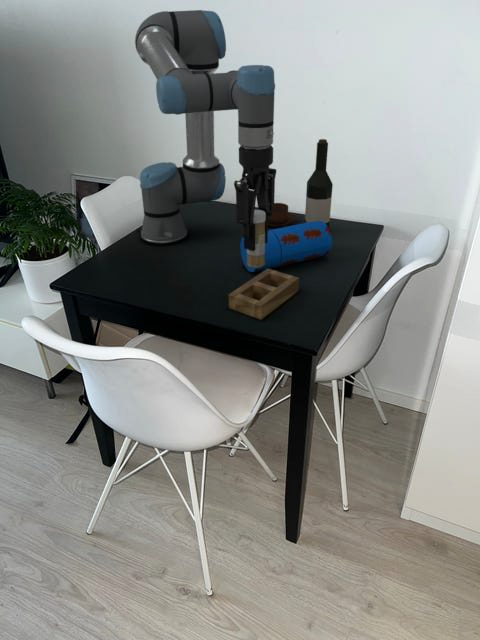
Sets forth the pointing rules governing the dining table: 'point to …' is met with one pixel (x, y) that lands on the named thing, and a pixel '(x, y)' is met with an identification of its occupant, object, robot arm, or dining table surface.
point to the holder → (263, 293)
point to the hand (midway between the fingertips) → (255, 245)
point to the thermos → (293, 245)
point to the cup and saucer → (280, 216)
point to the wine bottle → (319, 188)
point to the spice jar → (258, 241)
